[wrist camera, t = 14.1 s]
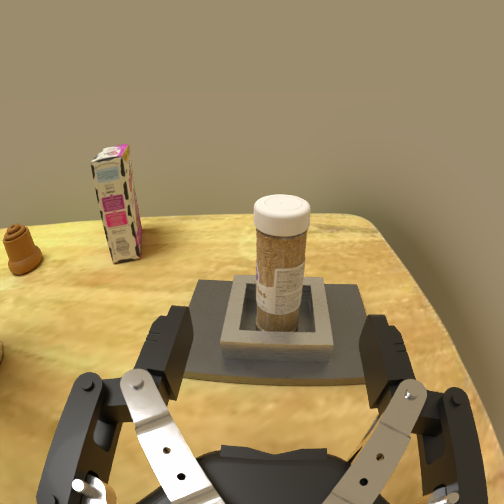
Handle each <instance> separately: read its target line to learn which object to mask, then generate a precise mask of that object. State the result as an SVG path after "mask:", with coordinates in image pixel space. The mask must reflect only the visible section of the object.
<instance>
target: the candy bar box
mask: <svg viewBox="0 0 504 504" xmlns="http://www.w3.org/2000/svg"><path fill="white" fill-rule="evenodd" d="M91 167H92V173H93V179H94V185H95V189H96V195H97V200H98V204H99V209H100V213H101V218H102V222H103V226H104V230H105V234H106V238H107V242H108V246H109V250H110V253H111V257H112V261H113V263H119V262H125V261H132V260H137V259H140V258H141V234H142V226H141V221H140V216H139V210H138V205H137V199H136V193H135V186H134V179H133V173H132V164H131V157H130V149H129V144H125V145H119V146H113V147H109V148H105V149H103V150H102V151H101V152H100V153H99V154H98V155H97V156H96V157H95V158H94V159H93V160H92V161H91Z"/></svg>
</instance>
